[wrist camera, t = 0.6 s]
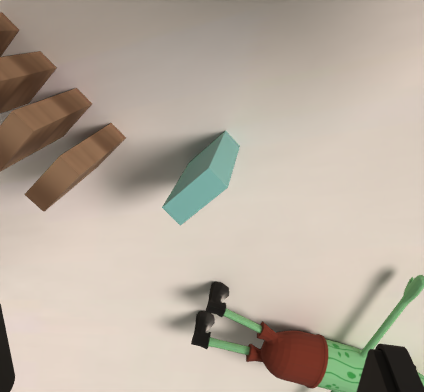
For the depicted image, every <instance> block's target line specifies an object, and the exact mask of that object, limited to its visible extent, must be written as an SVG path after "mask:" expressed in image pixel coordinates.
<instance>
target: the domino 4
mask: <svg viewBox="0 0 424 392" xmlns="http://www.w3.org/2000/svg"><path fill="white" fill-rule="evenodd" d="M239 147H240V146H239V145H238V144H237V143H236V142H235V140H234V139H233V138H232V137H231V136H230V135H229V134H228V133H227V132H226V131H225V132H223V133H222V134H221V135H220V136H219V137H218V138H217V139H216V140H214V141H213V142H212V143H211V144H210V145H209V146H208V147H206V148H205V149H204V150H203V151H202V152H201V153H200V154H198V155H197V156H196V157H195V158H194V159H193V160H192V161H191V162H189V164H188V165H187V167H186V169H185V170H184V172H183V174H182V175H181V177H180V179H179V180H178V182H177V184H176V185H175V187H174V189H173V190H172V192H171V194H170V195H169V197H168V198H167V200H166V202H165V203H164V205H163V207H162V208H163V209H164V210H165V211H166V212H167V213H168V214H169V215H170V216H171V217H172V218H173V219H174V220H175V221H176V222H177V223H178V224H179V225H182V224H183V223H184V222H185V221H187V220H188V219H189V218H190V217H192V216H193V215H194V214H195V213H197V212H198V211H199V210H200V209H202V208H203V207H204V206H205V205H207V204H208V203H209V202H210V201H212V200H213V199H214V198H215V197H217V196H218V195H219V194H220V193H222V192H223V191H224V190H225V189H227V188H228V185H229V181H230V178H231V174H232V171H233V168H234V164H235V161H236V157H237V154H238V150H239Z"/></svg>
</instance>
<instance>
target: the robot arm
mask: <svg viewBox="0 0 424 392" xmlns="http://www.w3.org/2000/svg"><path fill="white" fill-rule="evenodd" d="M14 381H15V373H14V368H13V363H12V358H11V353H10V348H9V343H8V338H7V333H6V328H5V324H4V319H3V314H2V309H1V304H0V392H10V391H11V389H12V387H13V384H14ZM357 392H424V386H423V383H422V381H421V379H420V377H419V375H418V372H417V370H416V368H415V366H414V364H413V362H412V359H411V357H410V355H409V353H408V351H407V349H406V348H405V347H401V346H393V345H386V344H378V345H377V347H376V349H370V350H369V351H368V353H367V357H366V360H365V364H364V367H363V371H362V374H361V378H360V381H359V385H358V388H357Z"/></svg>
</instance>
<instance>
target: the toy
mask: <svg viewBox="0 0 424 392" xmlns="http://www.w3.org/2000/svg"><path fill="white" fill-rule="evenodd" d="M423 288H424V276H423V275H419V276H417V277H416V278H415V279H414V280H413V277H412V278H411V279H410V280H409V282H408V284H407V286H406V288H405V291H404V296H403V297H402V299H401V300H400V302H399V303H398V304H397V306H396V307H395V308H394V310H393V311H392V312H391V314H390V315H389V316H388V317H387V319H386V320H385V321H384V323H383V324H382V325H381V327H380V328H379V329H378V331H377V332H376V333H375V334H374V336H373V337H372V338H371V340H370V341H369V342H368V344H367V345H366V346H365V347H364V349H363V350H360V349H357V348H354V347H351V346H348V345H345V344H341V343H338V342H334V341H331V340H327V339H325V338H324V337H323V336H322V335H320V334H316V335H315V334H311V333H306V332H302V331H293V330H291V331H282V332H275V331H273V330H272V329H270V328H269V327H268V326H267V325H266V324H265V323H264V322H263V321H262V323H261V325H259V324H257V323H255V322H253V321H251V320H249V319H247V318H245V317H243V316H240V315H238V314H236V313H234V312H232V311H230V310H228V309H227V308H226V303H222V301H223V300H224V299H225V298H227V297H228V296H229V288H228V287H227V286H226V285H224V284H223V283H221V282H214V283H212V284H211V289H210V294H209V301H208V305H207V308H206V311H200V312H199V313H198V314H197V316H196V325H195V331H194V335H193V338H192V343H191V344H193V345H197V346H201V347H203V348H205V349H207V348H208V346H210V347H216V348H220V349H225V350H229V351H233V352H237V353H241V354H245V355H246V362H249V361H259V362H263V363H264V364H265V366H266V368H267V369H268V370H269V371H270V372H271V373H272V374H273V375H274V376H275V377H277V378H280V379H282V380H286V381H290V382H294V383H298V384H301V385H305V386H306V387H308V388H315V387H321V388H325V389H329V390H332V391H331V392H357V388H358V385H359V381H360V378H361V374H362V371H363V367H364V364H365V360H366V357H367V353H368V351H369V350H370V349H373V348H374V347H375V346H376V344H377V343H378V342H379V340H380V339H381V338H382V337H383V335H384V334H385V333H386V332H387V330H388V329H389V328H390V326H391V325H392V324H393V323H394V321H395V320H396V319H397V317H398V316H399V315H400V314H401V312H402V311H403V310H404V309H405V307H406V306H407V305H408V304H409V303H410V302H411V301H412V300H413V299H415V298H416V297H417V296H418V295H419V293H420V292H421V291H422V290H423ZM211 313H214V314H217V315H219V316H220V317H223V316H225V317H227V318H229V319H232V320H234V321H236V322H238V323H240V324H242V325H244V326H246V327H248V328H250V329H252V330H254V331H256V332H258V333H257V338H259V339H263V340H265V341H264V343H263V345H262V348H261V349H259V348H257V347H255V346H254V345H252V344H249V346H243V345H239V344H235V343H231V342H227V341H222V340H218V339H214V338H211V337H210V334H211V332H209V333H207V331H208V329H209V328H210V327H211V326H212V325H213V324H214V320H215V319H214V316H213V315H212V314H211ZM414 366H415V365H414ZM415 368H416V366H415ZM418 375H419V377H420V379H421V381H422V383H423V386H424V376H423V375H421V374H419V373H418Z"/></svg>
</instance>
